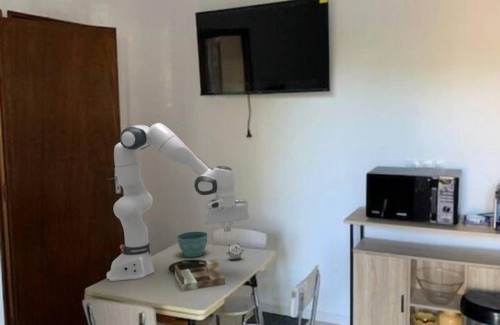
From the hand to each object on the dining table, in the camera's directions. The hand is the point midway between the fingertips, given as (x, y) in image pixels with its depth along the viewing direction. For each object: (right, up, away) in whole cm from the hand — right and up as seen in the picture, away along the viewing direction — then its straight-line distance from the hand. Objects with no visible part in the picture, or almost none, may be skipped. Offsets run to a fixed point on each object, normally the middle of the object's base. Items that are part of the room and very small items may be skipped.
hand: (227, 231), depth 230 cm
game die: (+3, -18, +27) cm, 32 cm away
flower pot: (-20, -18, +38) cm, 47 cm away
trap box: (-13, -22, -2) cm, 26 cm away
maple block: (-7, -19, 0) cm, 20 cm away
